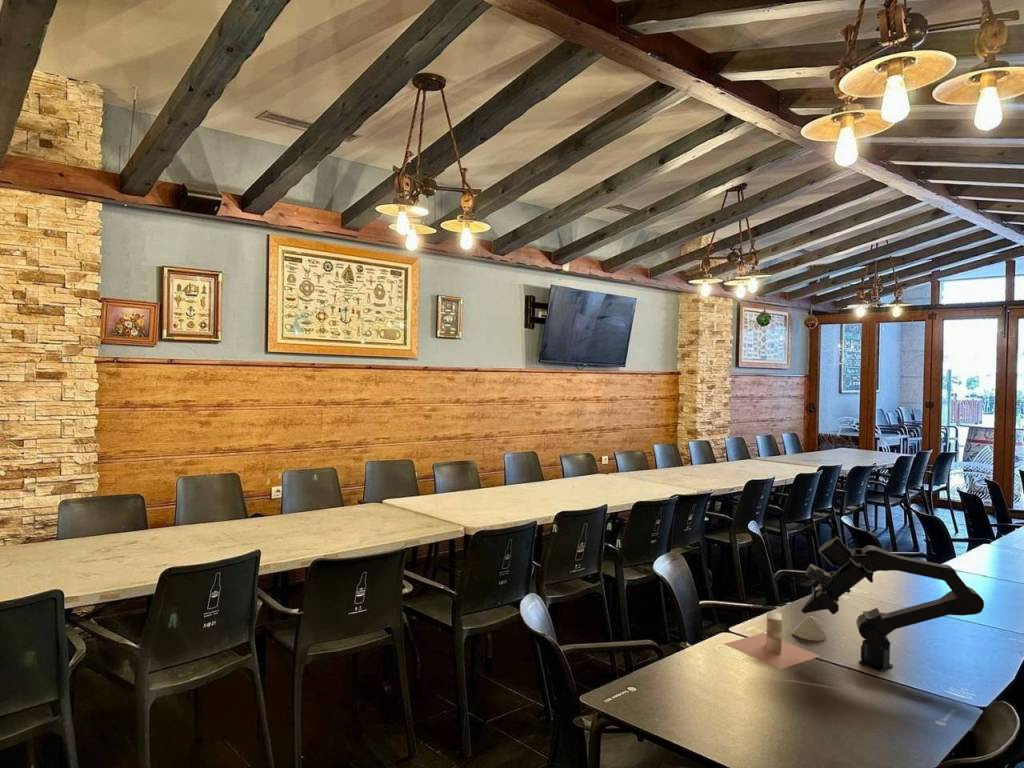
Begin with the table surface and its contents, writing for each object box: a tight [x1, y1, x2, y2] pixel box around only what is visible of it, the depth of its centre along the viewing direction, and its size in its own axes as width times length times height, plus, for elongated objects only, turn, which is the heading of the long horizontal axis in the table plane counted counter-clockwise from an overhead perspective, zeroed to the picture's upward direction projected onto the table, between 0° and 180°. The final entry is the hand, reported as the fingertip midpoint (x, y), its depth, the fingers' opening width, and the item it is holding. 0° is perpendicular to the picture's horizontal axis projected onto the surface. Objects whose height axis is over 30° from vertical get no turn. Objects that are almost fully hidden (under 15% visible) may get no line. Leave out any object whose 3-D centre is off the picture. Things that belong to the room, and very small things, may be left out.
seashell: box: [791, 615, 828, 642], centre depth 213 cm, size 8×8×8 cm
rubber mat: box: [724, 632, 821, 670], centre depth 202 cm, size 20×18×1 cm
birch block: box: [766, 611, 783, 654], centre depth 203 cm, size 4×6×10 cm, turn 160°
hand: (802, 611), depth 200 cm, fingers closed
